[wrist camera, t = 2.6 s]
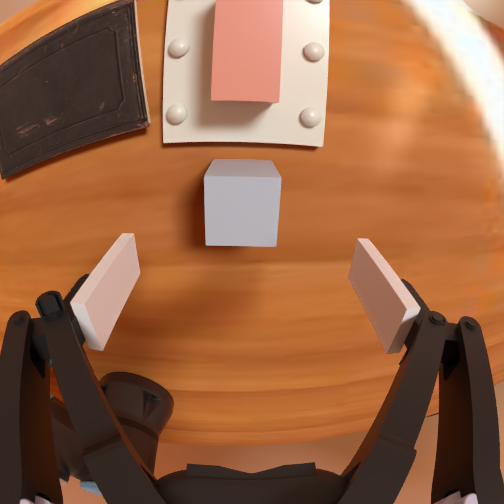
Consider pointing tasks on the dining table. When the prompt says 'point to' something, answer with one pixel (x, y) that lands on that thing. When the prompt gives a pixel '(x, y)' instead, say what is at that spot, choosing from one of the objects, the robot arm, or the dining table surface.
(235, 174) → the gray brick
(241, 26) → the studded cream panel
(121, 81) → the hardcover book
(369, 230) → the dining table surface
